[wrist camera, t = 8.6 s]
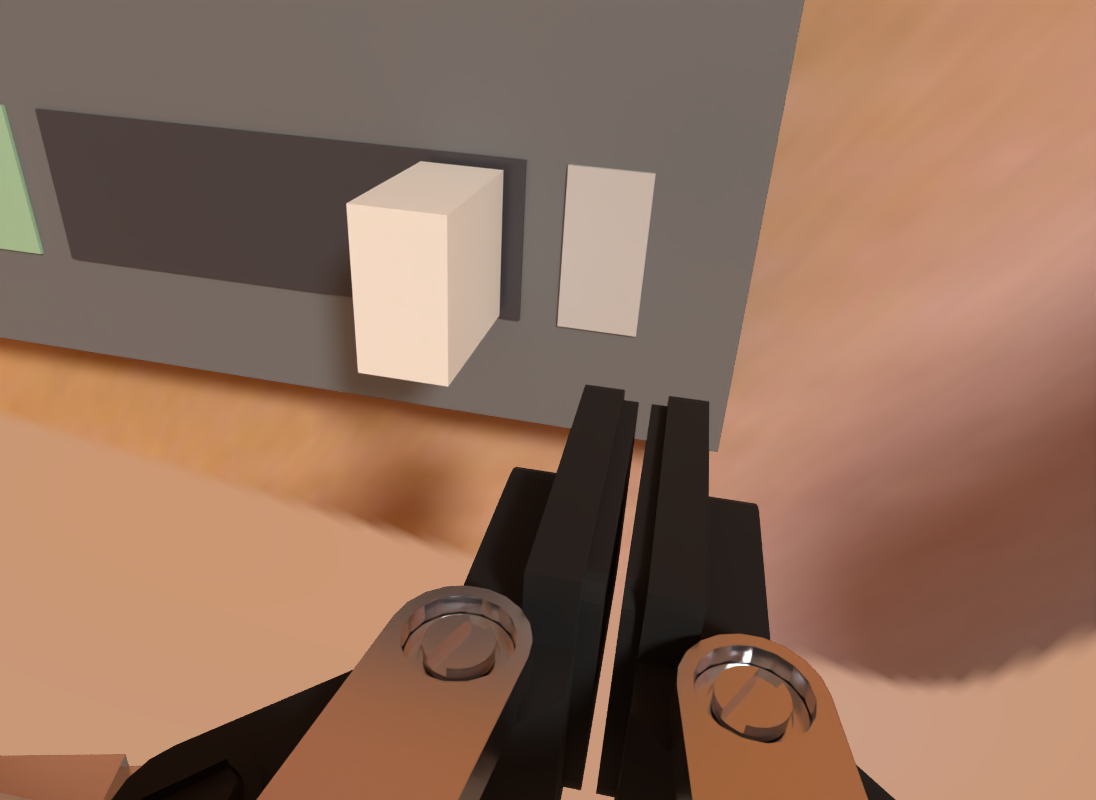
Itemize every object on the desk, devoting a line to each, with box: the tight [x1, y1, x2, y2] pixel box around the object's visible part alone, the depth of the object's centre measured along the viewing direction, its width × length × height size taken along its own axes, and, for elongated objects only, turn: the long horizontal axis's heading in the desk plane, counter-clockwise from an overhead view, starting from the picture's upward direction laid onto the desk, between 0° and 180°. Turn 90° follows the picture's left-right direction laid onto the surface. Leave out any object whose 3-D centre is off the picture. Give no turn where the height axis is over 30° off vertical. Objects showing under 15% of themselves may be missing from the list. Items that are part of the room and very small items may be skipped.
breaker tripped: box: [346, 161, 503, 387], centre depth 17 cm, size 2×4×4 cm, turn 177°
